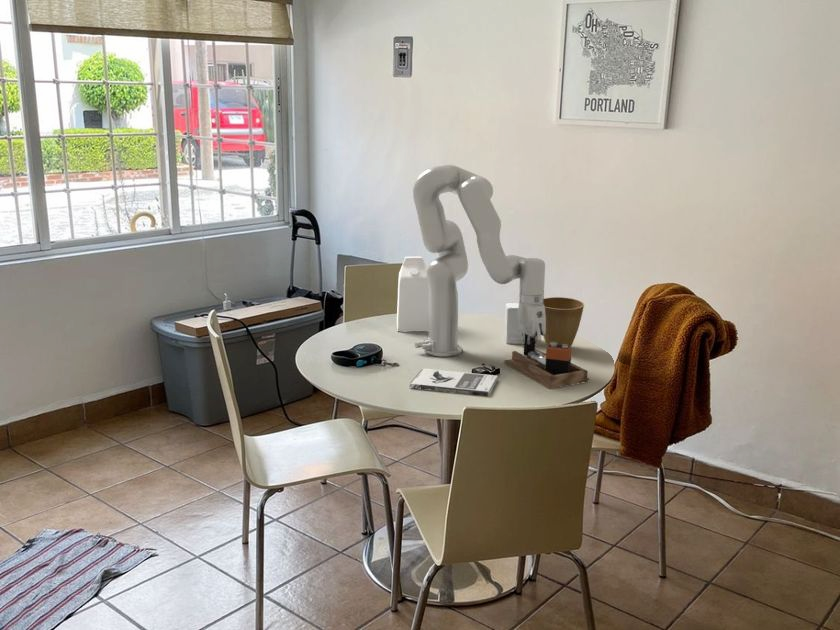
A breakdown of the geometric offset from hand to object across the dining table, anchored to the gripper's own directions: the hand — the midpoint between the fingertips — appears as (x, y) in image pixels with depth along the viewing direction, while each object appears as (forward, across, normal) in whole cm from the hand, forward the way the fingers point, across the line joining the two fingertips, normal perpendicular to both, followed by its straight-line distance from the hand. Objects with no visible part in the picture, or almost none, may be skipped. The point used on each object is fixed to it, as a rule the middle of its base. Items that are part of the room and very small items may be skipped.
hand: (529, 355), depth 246 cm
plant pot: (+3, +8, -17) cm, 19 cm away
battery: (+2, -16, 0) cm, 16 cm away
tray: (+3, -9, 0) cm, 10 cm away
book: (+3, -7, +30) cm, 31 cm away
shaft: (+2, -7, 0) cm, 7 cm away
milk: (+3, +52, +16) cm, 55 cm away
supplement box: (+3, +22, -9) cm, 24 cm away
